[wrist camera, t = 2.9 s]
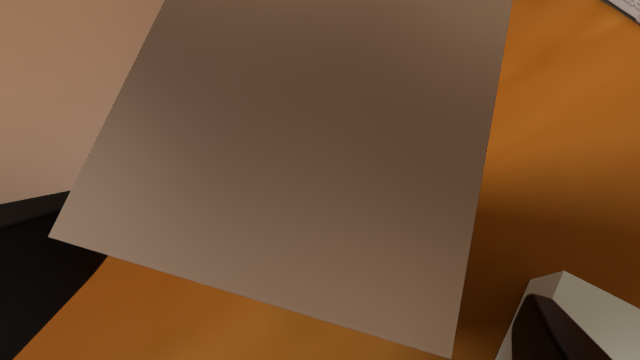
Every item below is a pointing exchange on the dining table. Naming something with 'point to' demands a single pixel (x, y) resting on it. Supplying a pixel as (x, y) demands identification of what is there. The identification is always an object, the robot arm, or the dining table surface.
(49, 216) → the robot arm
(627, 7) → the candy bar box
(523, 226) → the dining table surface
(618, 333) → the sage base
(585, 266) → the dining table surface
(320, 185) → the walnut block
